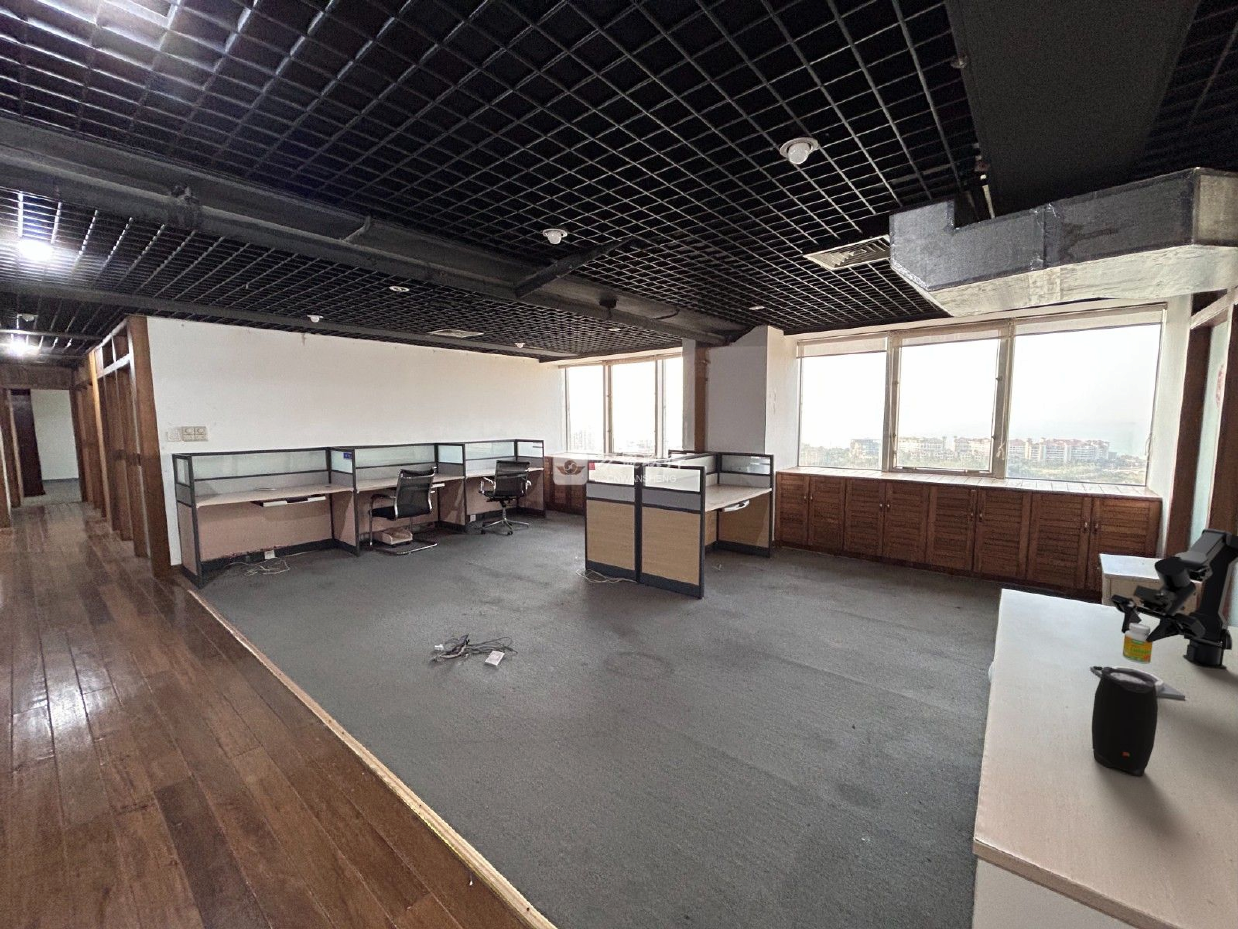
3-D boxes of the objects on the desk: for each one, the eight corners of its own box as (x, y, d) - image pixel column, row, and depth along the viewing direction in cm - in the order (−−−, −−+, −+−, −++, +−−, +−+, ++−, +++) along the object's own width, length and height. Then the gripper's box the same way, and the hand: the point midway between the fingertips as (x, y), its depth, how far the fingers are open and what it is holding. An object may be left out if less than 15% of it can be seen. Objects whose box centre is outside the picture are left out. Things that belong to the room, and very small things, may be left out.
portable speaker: (1143, 785, 99) (1154, 691, 97) (1081, 758, 107) (1091, 670, 105) (1155, 769, 104) (1166, 679, 102) (1095, 744, 112) (1104, 660, 110)
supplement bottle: (1126, 661, 137) (1130, 627, 136) (1118, 653, 142) (1122, 620, 141) (1154, 666, 134) (1158, 631, 133) (1145, 658, 139) (1148, 624, 138)
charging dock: (1149, 676, 142) (1150, 668, 142) (1184, 699, 130) (1186, 690, 130) (1090, 669, 146) (1091, 661, 145) (1119, 691, 134) (1120, 682, 134)
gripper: (1118, 566, 145) (1082, 605, 145) (1202, 588, 127) (1162, 632, 126) (1137, 591, 147) (1102, 629, 147) (1222, 616, 129) (1183, 660, 128)
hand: (1134, 636), depth 137 cm, fingers closed on supplement bottle, 5 cm apart
